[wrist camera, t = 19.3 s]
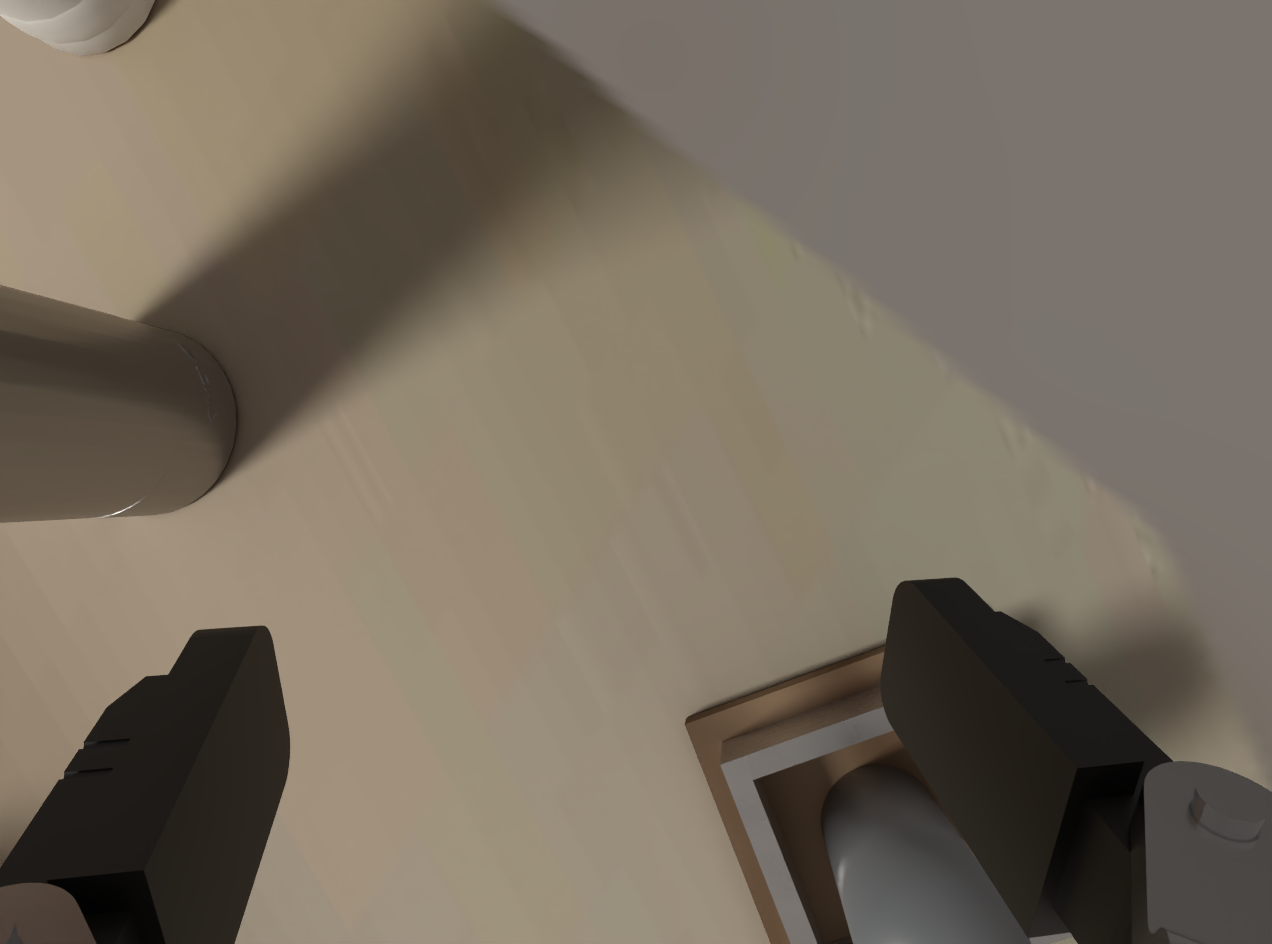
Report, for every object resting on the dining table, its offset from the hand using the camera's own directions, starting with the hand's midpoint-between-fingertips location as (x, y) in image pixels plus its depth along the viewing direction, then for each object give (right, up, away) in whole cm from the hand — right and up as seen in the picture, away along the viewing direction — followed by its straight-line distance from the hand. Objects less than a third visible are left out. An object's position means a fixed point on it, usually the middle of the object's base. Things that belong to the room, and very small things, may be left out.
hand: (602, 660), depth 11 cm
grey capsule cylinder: (+11, -13, +25) cm, 30 cm away
